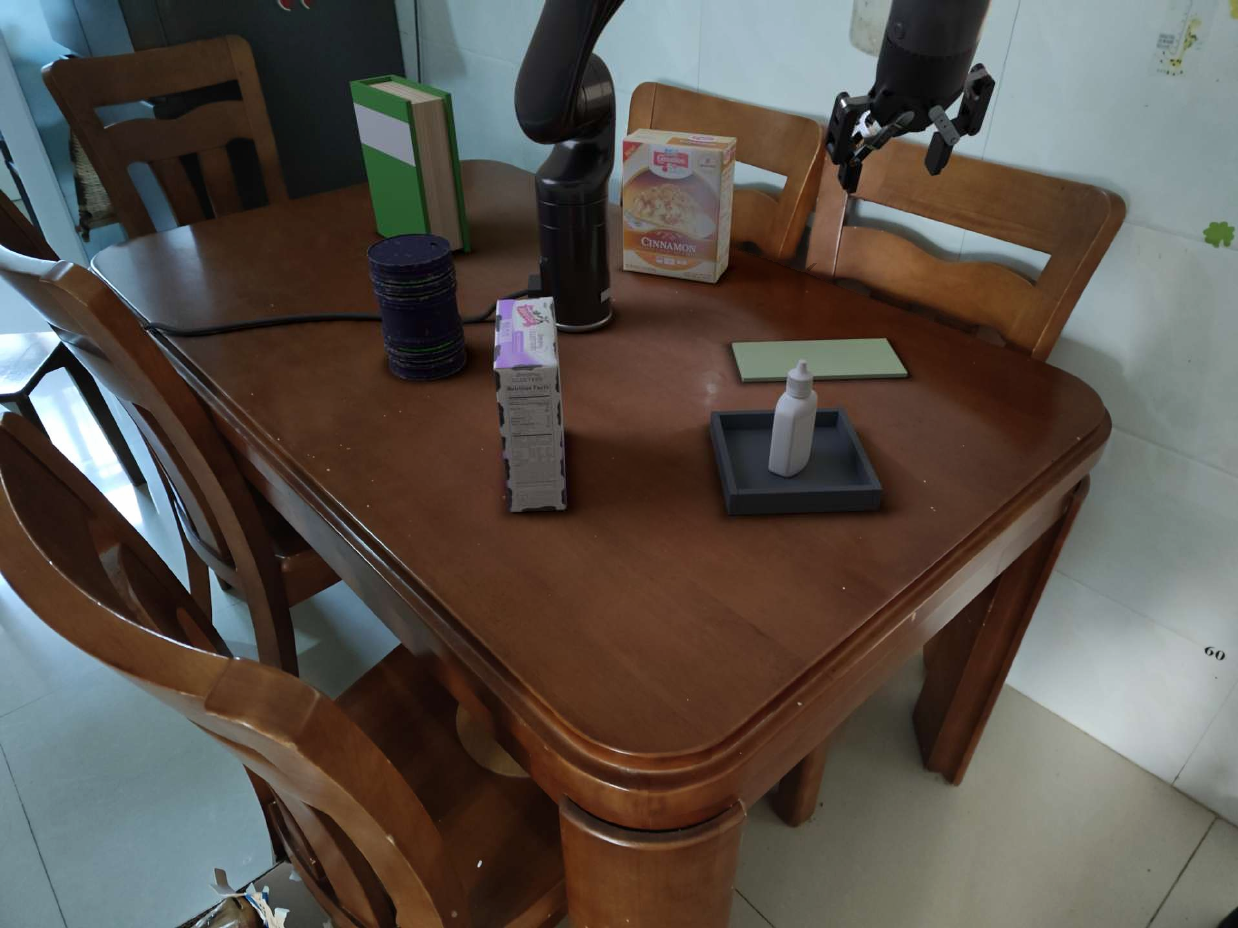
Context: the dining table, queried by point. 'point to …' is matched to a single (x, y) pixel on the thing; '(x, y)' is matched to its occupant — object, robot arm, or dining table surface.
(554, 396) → the candy box
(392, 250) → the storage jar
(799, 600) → the dining table surface
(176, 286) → the dining table surface
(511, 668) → the dining table surface
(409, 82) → the hardback book
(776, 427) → the eye dropper bottle
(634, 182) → the coffeecake box
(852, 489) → the tray
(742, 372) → the mat
